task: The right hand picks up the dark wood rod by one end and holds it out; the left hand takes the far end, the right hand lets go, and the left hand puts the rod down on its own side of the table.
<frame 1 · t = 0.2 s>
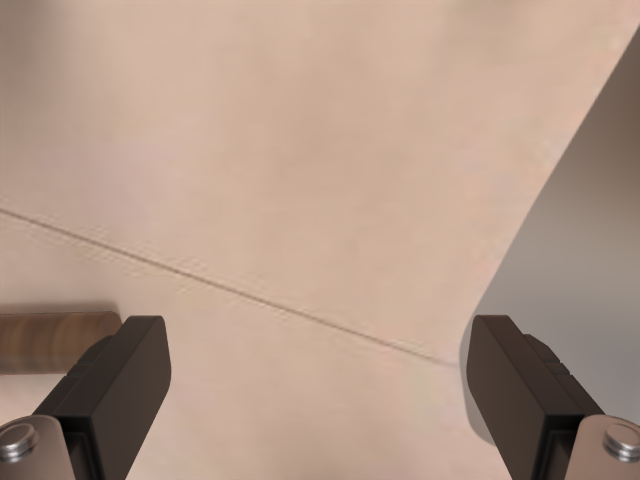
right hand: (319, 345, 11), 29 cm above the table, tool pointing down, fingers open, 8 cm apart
rod: (8, 328, 45), on the table
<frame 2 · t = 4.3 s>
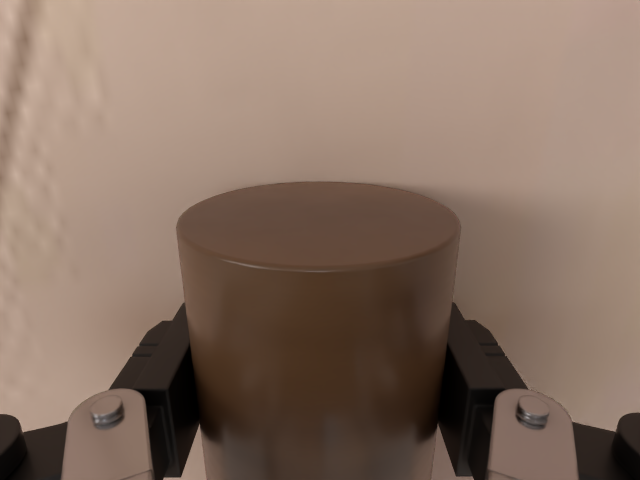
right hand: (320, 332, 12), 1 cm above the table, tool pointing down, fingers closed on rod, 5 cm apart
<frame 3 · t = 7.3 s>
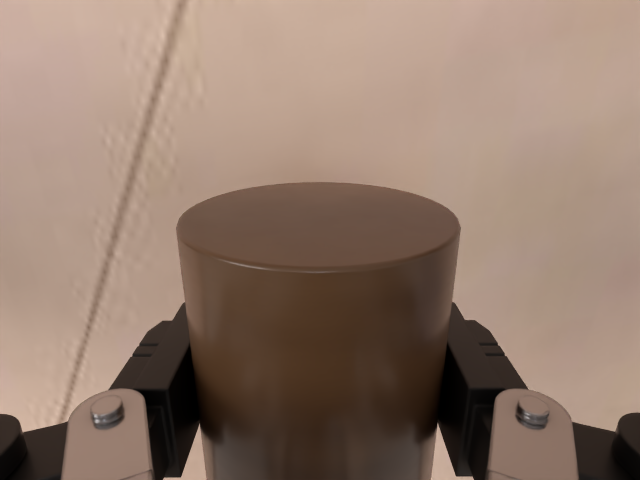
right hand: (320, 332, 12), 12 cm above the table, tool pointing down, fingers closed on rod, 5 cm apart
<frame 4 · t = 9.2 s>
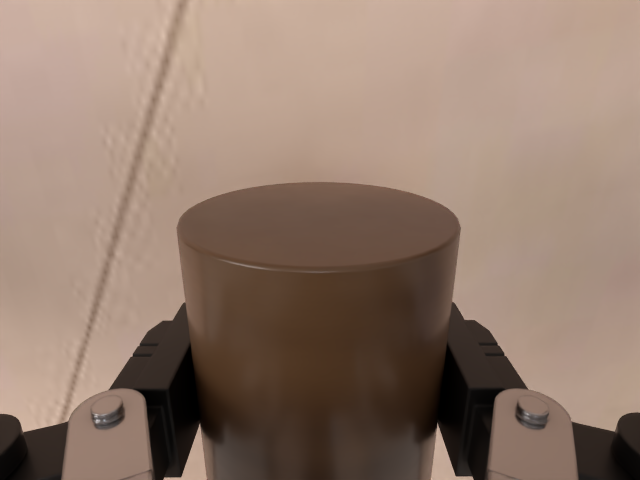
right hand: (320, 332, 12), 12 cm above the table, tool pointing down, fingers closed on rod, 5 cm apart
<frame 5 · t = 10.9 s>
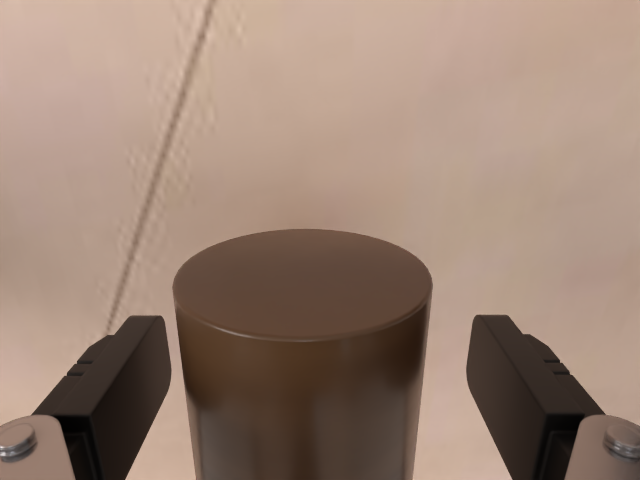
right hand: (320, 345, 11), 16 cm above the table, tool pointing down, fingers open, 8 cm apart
when the left hand's fingers open (3 cm above the table, at t = 18.3 s): rod drops 1 cm, on the table.
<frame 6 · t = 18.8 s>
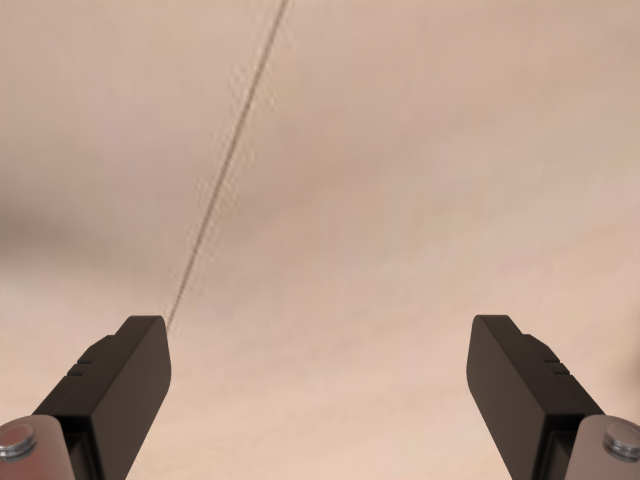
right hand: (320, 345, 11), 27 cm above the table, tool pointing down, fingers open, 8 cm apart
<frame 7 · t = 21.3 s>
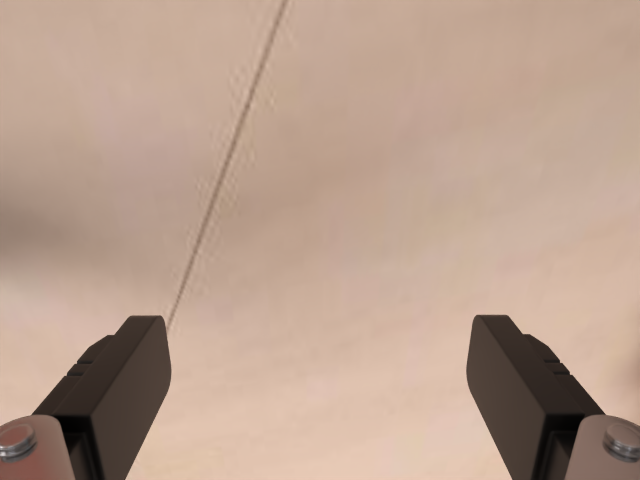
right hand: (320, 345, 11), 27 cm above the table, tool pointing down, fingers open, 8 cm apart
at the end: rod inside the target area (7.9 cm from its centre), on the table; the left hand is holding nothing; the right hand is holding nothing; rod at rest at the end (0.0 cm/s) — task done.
